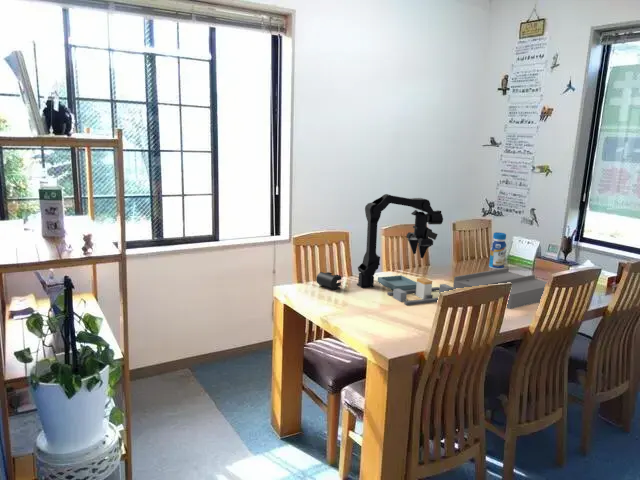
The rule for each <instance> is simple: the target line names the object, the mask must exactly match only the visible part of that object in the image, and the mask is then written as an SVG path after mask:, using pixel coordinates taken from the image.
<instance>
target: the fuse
mask: <svg viewBox="0 0 640 480" xmlns="http://www.w3.org/2000/svg"><path fill="white" fill-rule="evenodd" d="M416 282H417V284H416V295H415V296H416V297H418V298H420V299H426V295H432V292H433V291H432V287H433V281H432V280H430V279H428V278H425V277H419V278H416Z"/></svg>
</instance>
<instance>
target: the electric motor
mask: <svg viewBox="0 0 640 480" xmlns="http://www.w3.org/2000/svg"><path fill="white" fill-rule="evenodd" d="M341 280H342V276H341V275H340V274H333V273H332V272H330V271H327V272H322V271H320V272H319V273H318V274H317V275H316V283H317V285H319V286H321V287H324V288H326V289H329V290H333V291H337V290H340V289H341V286H342V282H341ZM338 281H340V282H338Z"/></svg>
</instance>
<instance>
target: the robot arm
mask: <svg viewBox="0 0 640 480" xmlns="http://www.w3.org/2000/svg"><path fill="white" fill-rule="evenodd" d="M390 204H393V205H398V206H406V207H410V208H413V209H414V210H413V212H411V213H410V214H411V215H412V216H415V217H414V225H412V228H413V232H412V231H411V232H407V233H406V239H407V241H408V243H409V246H410V248H411V252H412V254H413V255H416V254H417V249H418V253H419V256H420V259H424V258H425V254H426V253H427V250H428V249H429V248H430V247H432V246H434V241H436V239H437V237H438V235H439V234H438V233H436V232H434V231H433V230H432V229H431V228H429V227H428V225H443V222H444V218H443V214H442V210H438V209H437V210H434V209H433V208H432V206H431V202H430V200H429V199H426V198H422V197H412V198H411V197H410V198H408V197H402V196H397V195H391V194H388V193H386V194H383V195H382V196H380V197H379V198H376V199H374V200H372V202H368V203H367V204H366V205H365V208H364V211H365V218H366V222H367V229H366V234H367V235H366V249H365V250H366V251H365V254H364V256H363V258H362V259H363V260H362V262H361V264H360V265H358V266H357V270H358V283H356V286H358V287H360V288H363V289H367V288H368V289H369V288H375V285H374V282H375V277H374V276H375V274H376V272H377V270H378V269H379V266H381V263H380V261H381V256H379V255H378V254H377V241H378V240H377V239H378V238H377V237H378V222H379V220H380V219H381V215H382V212H383V211H385V210H386V208H387V207H388V206H389V205H390Z"/></svg>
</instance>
